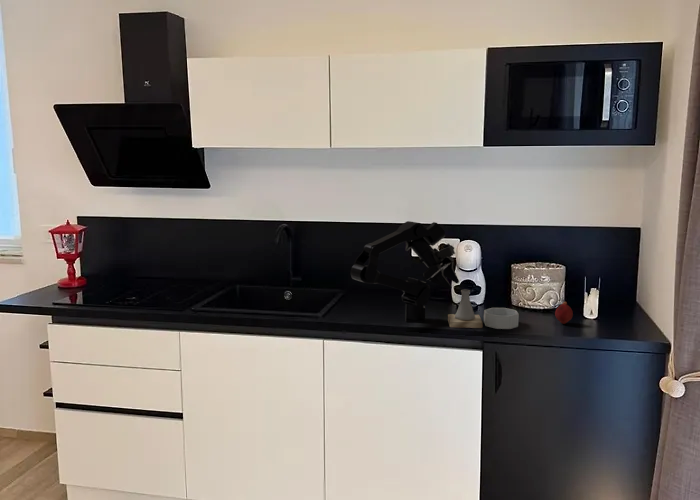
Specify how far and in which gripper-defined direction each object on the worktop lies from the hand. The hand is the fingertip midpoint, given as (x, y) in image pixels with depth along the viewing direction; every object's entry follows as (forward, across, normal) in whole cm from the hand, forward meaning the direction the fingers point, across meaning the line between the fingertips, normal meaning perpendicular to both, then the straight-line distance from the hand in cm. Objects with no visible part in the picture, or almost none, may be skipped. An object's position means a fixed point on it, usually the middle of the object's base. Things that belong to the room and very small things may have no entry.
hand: (454, 285), depth 223 cm
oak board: (+12, 0, +7) cm, 14 cm away
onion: (+35, +14, -16) cm, 41 cm away
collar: (+20, +4, -2) cm, 21 cm away
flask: (+11, 0, +5) cm, 12 cm away
